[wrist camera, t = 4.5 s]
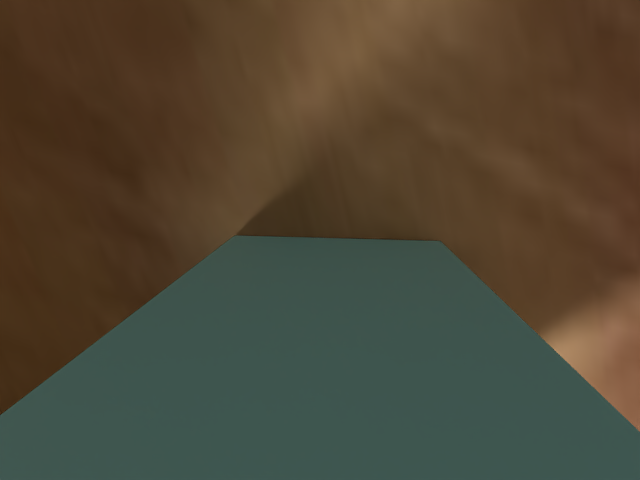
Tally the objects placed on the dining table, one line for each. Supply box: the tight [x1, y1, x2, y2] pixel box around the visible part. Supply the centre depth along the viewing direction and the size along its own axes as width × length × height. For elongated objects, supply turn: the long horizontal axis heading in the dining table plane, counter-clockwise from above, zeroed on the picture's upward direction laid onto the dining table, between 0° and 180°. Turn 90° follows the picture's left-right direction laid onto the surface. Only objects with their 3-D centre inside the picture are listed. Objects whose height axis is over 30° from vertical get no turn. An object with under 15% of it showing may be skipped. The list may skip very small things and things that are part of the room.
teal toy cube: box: [0, 235, 640, 480], centre depth 8 cm, size 7×7×9 cm
